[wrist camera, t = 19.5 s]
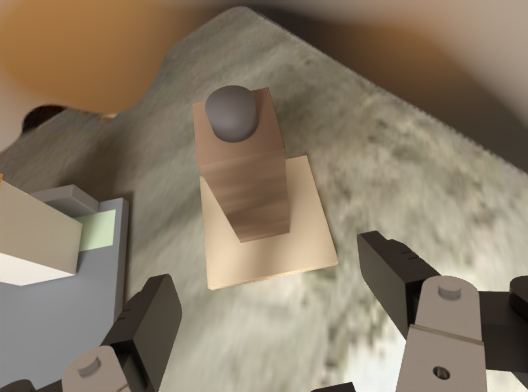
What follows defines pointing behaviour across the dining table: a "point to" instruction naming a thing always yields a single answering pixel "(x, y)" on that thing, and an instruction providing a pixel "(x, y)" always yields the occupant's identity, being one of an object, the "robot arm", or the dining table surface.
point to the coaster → (271, 248)
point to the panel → (66, 295)
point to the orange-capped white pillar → (35, 239)
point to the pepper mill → (243, 160)
